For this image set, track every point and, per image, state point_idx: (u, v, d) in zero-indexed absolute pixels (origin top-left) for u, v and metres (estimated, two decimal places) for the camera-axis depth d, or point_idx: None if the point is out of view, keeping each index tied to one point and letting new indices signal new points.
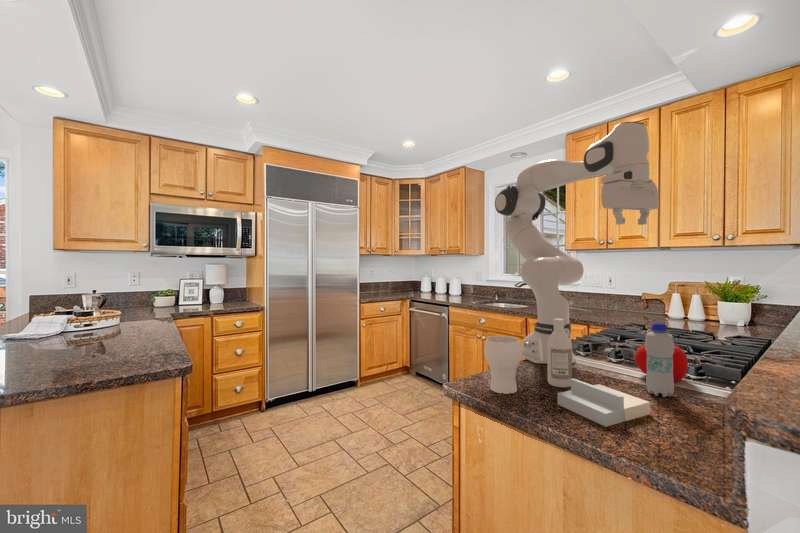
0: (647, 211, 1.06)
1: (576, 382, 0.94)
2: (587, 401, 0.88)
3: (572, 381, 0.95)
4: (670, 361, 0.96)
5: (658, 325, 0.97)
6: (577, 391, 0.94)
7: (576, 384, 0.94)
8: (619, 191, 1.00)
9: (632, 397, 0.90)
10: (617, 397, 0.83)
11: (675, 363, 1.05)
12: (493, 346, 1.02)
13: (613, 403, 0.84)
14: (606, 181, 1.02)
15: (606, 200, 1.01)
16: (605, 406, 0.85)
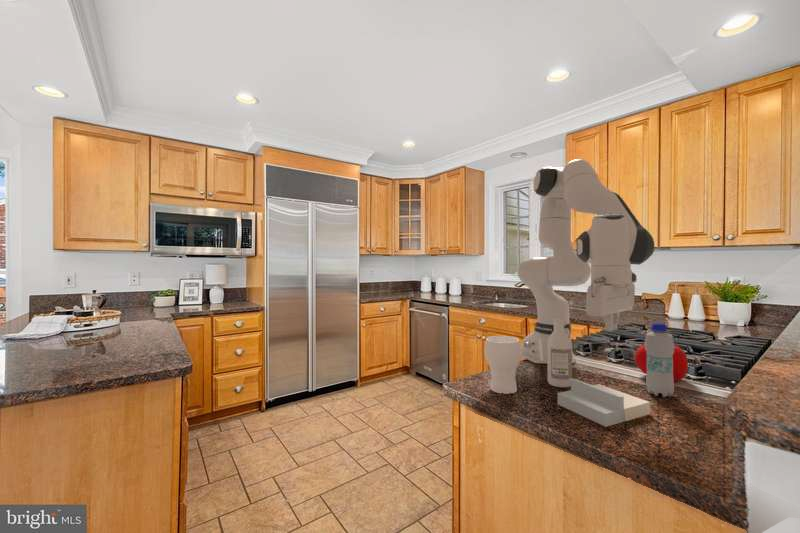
0: None
1: (576, 382, 0.94)
2: (587, 401, 0.88)
3: (572, 381, 0.95)
4: (670, 361, 0.96)
5: (658, 325, 0.97)
6: (577, 391, 0.94)
7: (576, 384, 0.94)
8: None
9: (632, 397, 0.90)
10: (617, 397, 0.83)
11: (675, 363, 1.05)
12: (493, 346, 1.02)
13: (613, 403, 0.84)
14: None
15: None
16: (605, 406, 0.85)
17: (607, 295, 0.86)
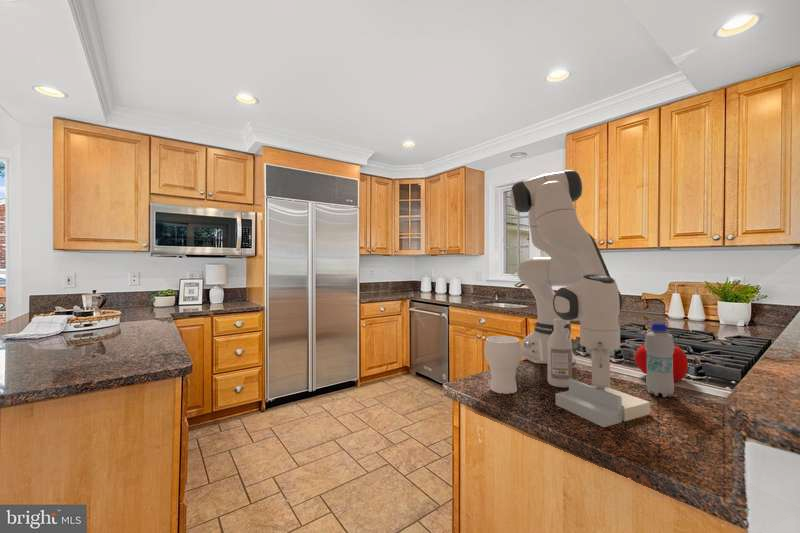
0: None
1: (574, 382, 0.94)
2: (585, 401, 0.88)
3: (570, 381, 0.95)
4: (670, 361, 0.96)
5: (658, 325, 0.97)
6: (575, 391, 0.93)
7: (574, 385, 0.94)
8: None
9: (632, 397, 0.90)
10: (615, 398, 0.83)
11: (675, 363, 1.05)
12: (493, 346, 1.02)
13: (611, 404, 0.84)
14: None
15: None
16: (603, 407, 0.85)
17: None
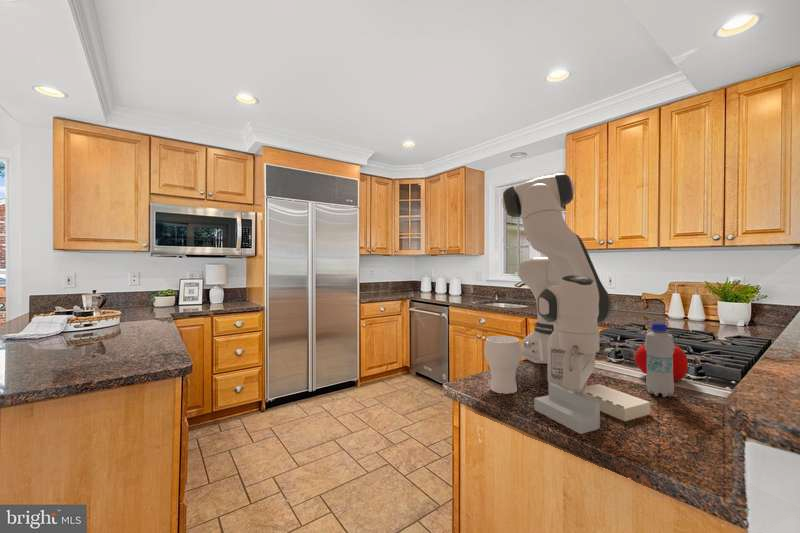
0: None
1: (553, 387, 0.91)
2: (564, 406, 0.85)
3: (549, 386, 0.92)
4: (670, 361, 0.96)
5: (658, 325, 0.97)
6: (554, 396, 0.91)
7: (553, 389, 0.91)
8: None
9: (632, 397, 0.90)
10: (593, 403, 0.80)
11: (675, 363, 1.05)
12: (493, 346, 1.02)
13: (589, 409, 0.81)
14: None
15: None
16: (581, 412, 0.82)
17: (581, 367, 0.81)
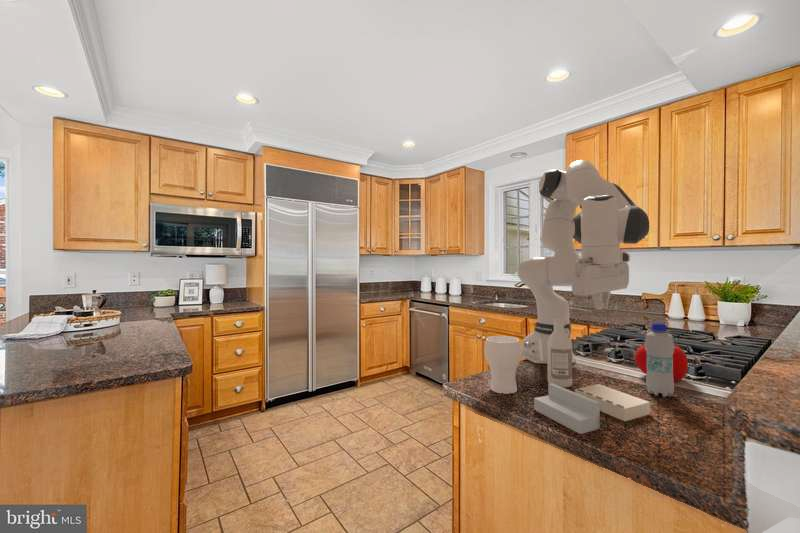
0: None
1: (553, 387, 0.91)
2: (563, 406, 0.85)
3: (549, 386, 0.92)
4: (670, 361, 0.96)
5: (658, 325, 0.97)
6: (554, 396, 0.91)
7: (553, 389, 0.91)
8: None
9: (632, 397, 0.90)
10: (593, 403, 0.80)
11: (675, 363, 1.05)
12: (493, 346, 1.02)
13: (589, 409, 0.81)
14: None
15: None
16: (581, 412, 0.82)
17: (593, 275, 0.89)
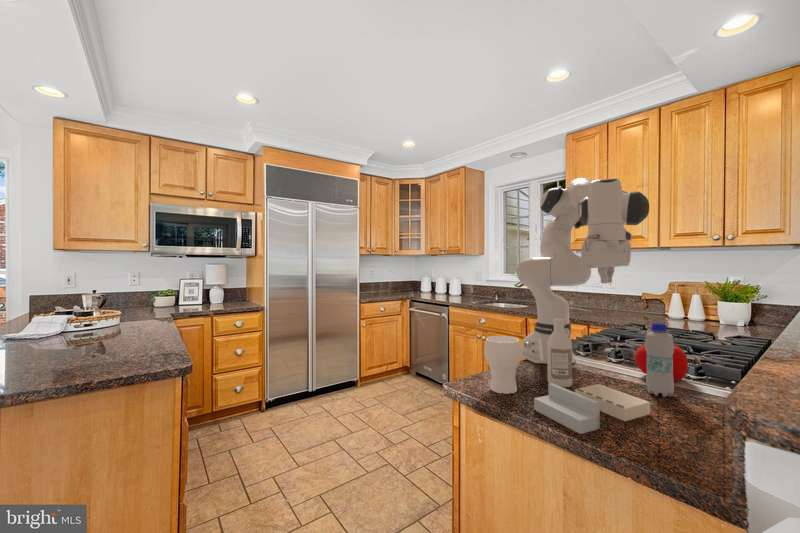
0: None
1: (553, 387, 0.91)
2: (563, 406, 0.85)
3: (549, 386, 0.92)
4: (670, 361, 0.96)
5: (658, 325, 0.97)
6: (554, 396, 0.91)
7: (553, 389, 0.91)
8: None
9: (632, 397, 0.90)
10: (593, 403, 0.80)
11: (675, 363, 1.05)
12: (493, 346, 1.02)
13: (589, 409, 0.81)
14: None
15: None
16: (581, 412, 0.82)
17: (600, 250, 0.97)
